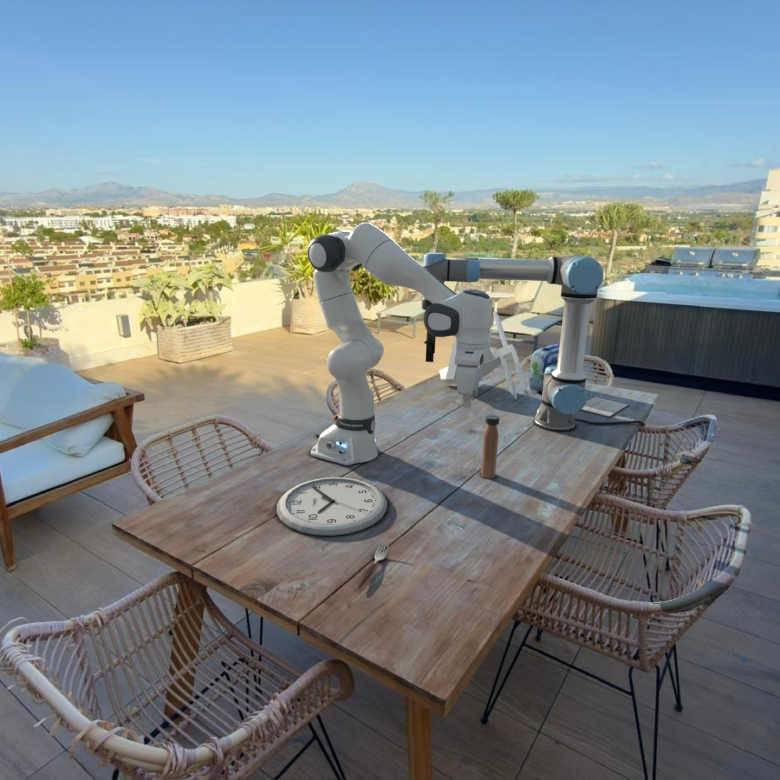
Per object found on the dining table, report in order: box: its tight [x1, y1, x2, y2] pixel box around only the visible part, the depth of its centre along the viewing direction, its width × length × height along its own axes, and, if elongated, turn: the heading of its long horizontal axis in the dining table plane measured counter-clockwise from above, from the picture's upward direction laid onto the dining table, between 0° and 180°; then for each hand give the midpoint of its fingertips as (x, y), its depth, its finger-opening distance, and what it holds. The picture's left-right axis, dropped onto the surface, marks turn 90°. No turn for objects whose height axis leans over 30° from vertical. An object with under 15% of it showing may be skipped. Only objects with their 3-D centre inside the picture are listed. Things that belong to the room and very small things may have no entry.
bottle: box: [480, 424, 499, 479], centre depth 159 cm, size 4×4×19 cm
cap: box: [485, 414, 500, 426], centre depth 156 cm, size 4×4×2 cm
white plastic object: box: [438, 310, 531, 400], centre depth 245 cm, size 37×45×31 cm
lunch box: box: [528, 344, 560, 393], centre depth 247 cm, size 26×11×21 cm, turn 134°
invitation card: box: [580, 396, 629, 418], centre depth 226 cm, size 21×1×15 cm
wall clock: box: [276, 476, 388, 537], centre depth 142 cm, size 30×2×30 cm
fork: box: [357, 541, 391, 589], centre depth 116 cm, size 3×16×2 cm, turn 160°
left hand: (470, 401), depth 142 cm, fingers open, 8 cm apart
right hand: (430, 357), depth 190 cm, fingers open, 13 cm apart
